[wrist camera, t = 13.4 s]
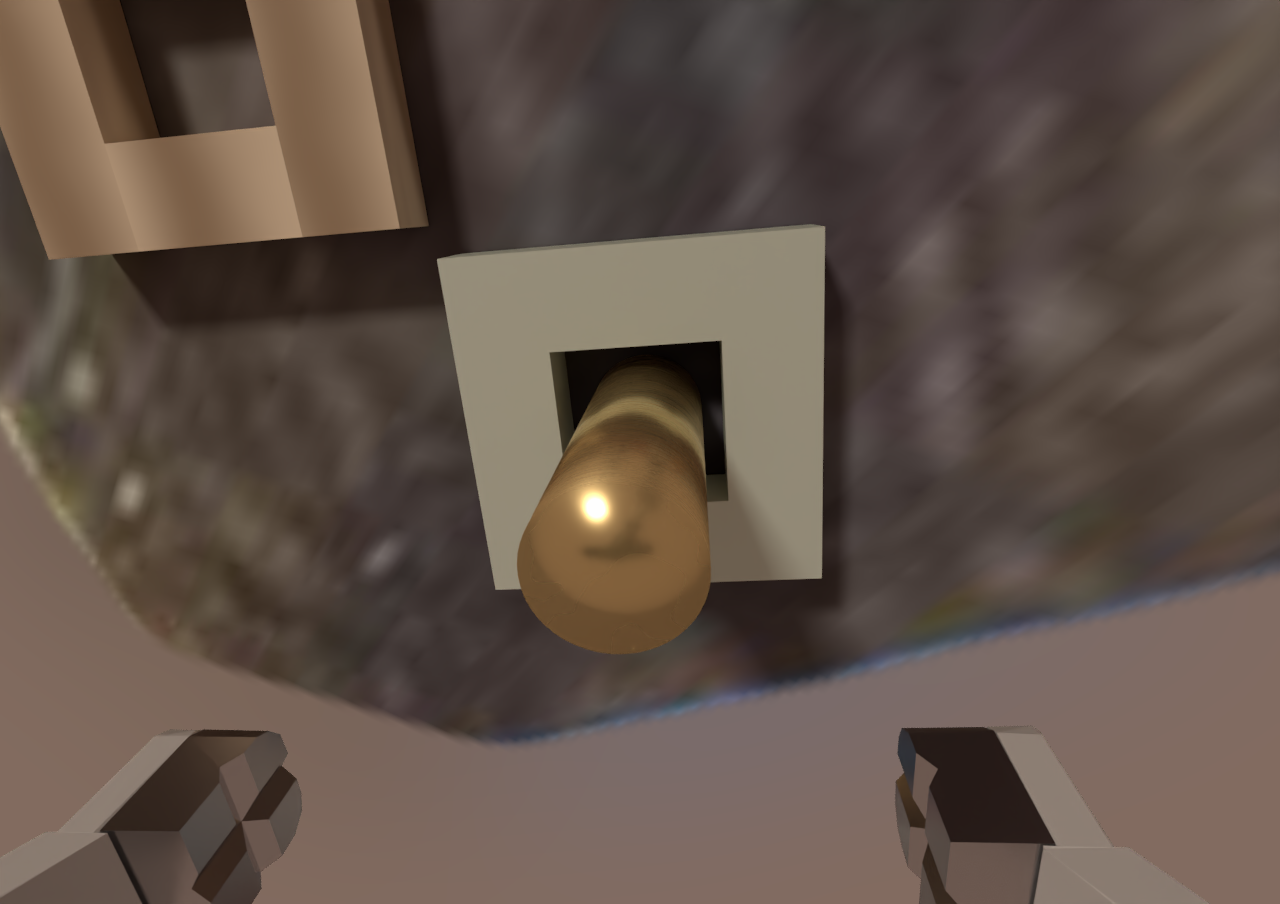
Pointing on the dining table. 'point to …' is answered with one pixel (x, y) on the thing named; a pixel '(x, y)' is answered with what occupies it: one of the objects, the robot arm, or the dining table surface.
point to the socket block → (642, 316)
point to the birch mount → (209, 162)
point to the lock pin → (624, 516)
